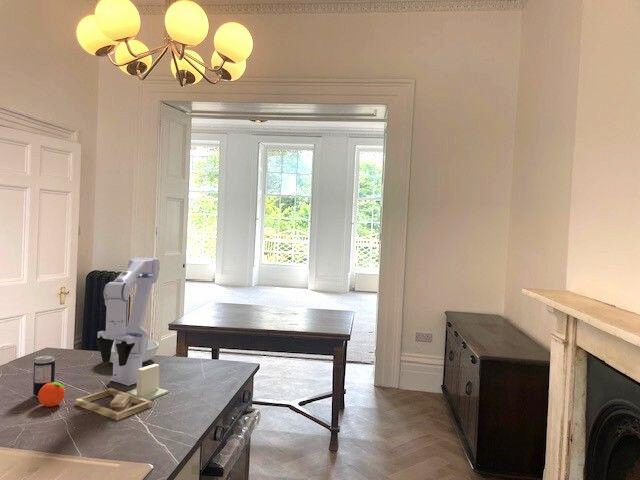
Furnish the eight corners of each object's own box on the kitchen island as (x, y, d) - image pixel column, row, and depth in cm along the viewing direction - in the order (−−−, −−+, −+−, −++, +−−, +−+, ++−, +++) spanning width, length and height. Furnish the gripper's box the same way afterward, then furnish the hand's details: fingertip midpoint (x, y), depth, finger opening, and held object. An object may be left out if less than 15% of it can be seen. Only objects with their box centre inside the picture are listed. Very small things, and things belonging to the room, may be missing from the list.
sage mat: (126, 393, 149) (126, 391, 149) (147, 386, 157) (147, 384, 157) (147, 400, 144) (147, 398, 144) (168, 392, 152) (168, 390, 152)
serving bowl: (156, 369, 175) (157, 350, 175) (95, 371, 169) (96, 353, 169) (159, 353, 195) (159, 337, 195) (104, 355, 189) (105, 338, 189)
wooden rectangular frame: (75, 404, 139) (75, 399, 139) (110, 392, 149) (111, 388, 149) (117, 420, 130) (117, 414, 130) (151, 406, 140) (152, 401, 140)
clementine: (73, 402, 141) (73, 379, 141) (58, 411, 134) (59, 387, 134) (47, 400, 141) (48, 377, 141) (32, 409, 135) (32, 385, 134)
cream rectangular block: (136, 393, 148) (137, 369, 148) (154, 387, 154) (154, 363, 154) (141, 395, 147) (142, 370, 147) (158, 389, 153) (159, 364, 153)
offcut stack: (109, 415, 133) (109, 403, 133) (117, 405, 140) (117, 394, 140) (124, 415, 134) (124, 403, 134) (131, 405, 141) (131, 394, 140)
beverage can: (58, 394, 147) (59, 356, 146) (41, 400, 141) (41, 361, 141) (46, 390, 149) (47, 353, 149) (28, 396, 144) (29, 358, 143)
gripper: (89, 319, 146) (87, 362, 146) (120, 324, 139) (119, 370, 139) (109, 316, 152) (107, 357, 152) (140, 321, 146) (138, 365, 146)
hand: (114, 363), depth 146 cm, fingers open, 7 cm apart
